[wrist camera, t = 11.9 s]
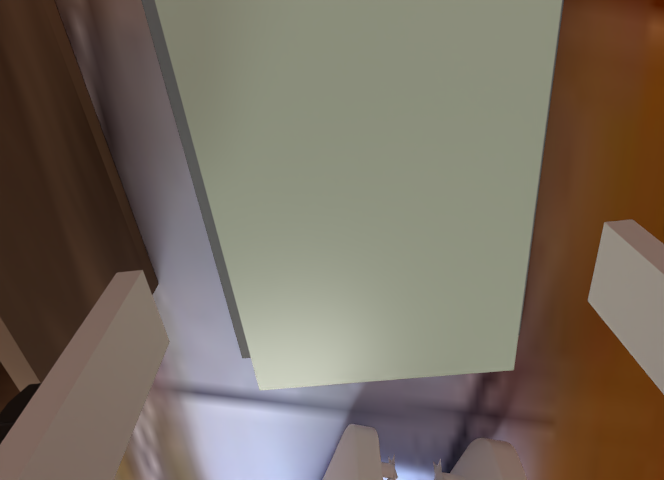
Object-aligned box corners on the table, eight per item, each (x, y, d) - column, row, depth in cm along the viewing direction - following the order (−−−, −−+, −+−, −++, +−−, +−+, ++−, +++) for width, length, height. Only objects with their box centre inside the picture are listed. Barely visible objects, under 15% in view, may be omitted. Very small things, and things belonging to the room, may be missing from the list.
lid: (269, 327, 24) (259, 390, 21) (189, -21, 16) (149, -17, 13) (485, 308, 24) (513, 370, 20) (515, -61, 16) (571, -70, 12)
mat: (244, 350, 26) (242, 358, 25) (125, -81, 16) (118, -82, 15) (515, 327, 25) (519, 335, 25) (574, -140, 15) (582, -144, 15)
